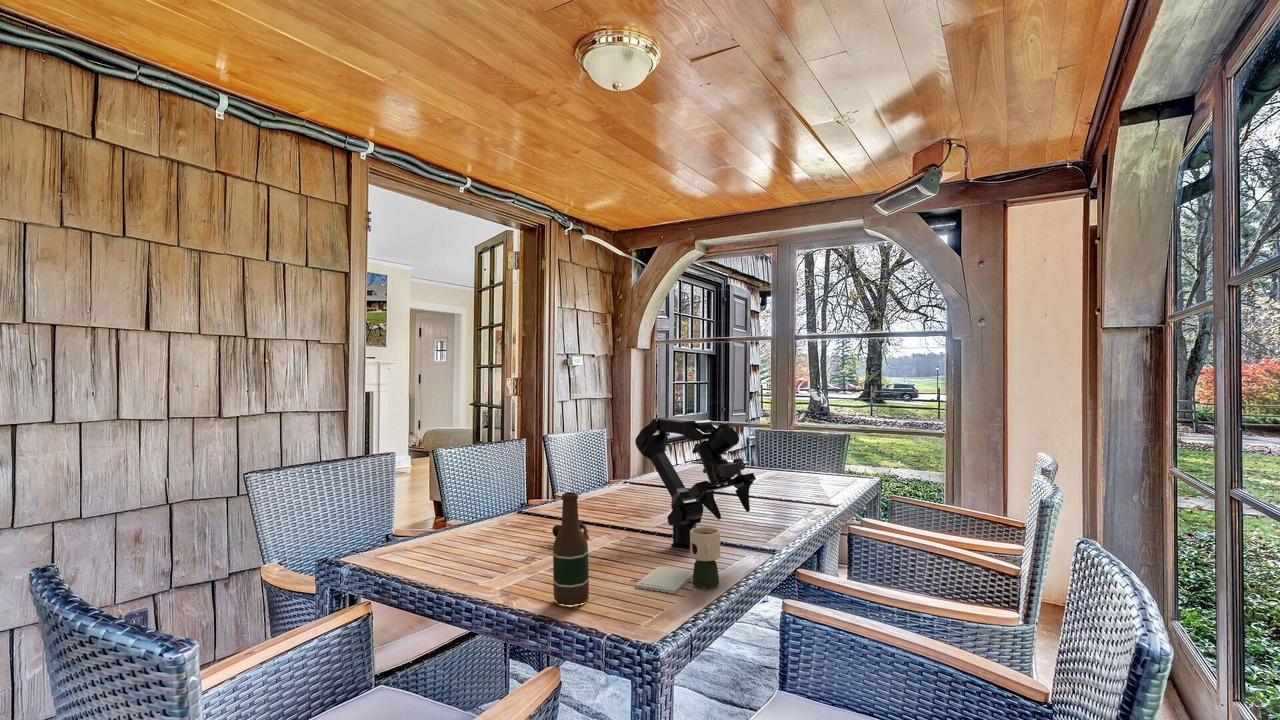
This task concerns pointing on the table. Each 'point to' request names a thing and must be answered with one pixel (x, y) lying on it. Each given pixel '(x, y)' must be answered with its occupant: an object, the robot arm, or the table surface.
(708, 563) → the character mug
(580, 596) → the beer bottle
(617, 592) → the table surface
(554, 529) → the pottery mug
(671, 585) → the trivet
